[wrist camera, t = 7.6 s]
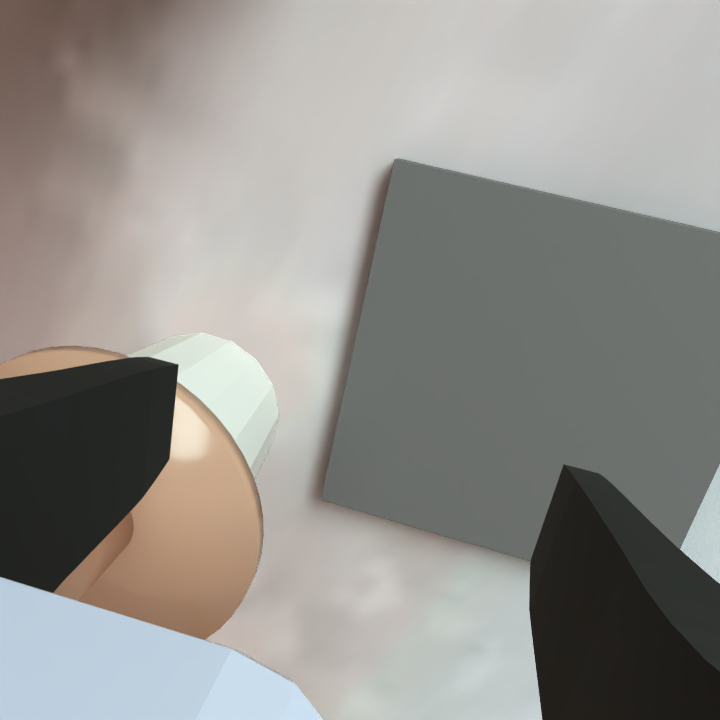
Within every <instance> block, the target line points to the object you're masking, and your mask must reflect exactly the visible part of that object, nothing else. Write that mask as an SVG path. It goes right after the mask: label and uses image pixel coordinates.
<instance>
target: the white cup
mask: <svg viewBox="0 0 720 720" xmlns="http://www.w3.org/2000/svg"><path fill="white" fill-rule="evenodd" d="M127 356H128V357H131V358H132V357H151V358H155V359H159V360H163V361H167V362H171V363H175V364H178V365H179V366H178V376H177V382H179V383H180V384H182V385H183V386H184V387H185V388H186V389H188V390H189V391H190V392H191V393H193V394H194V395H195V396H196V397H198V398H199V399H200V400H201V401H202V402H203V403H204V404H205V405H206V406H207V407H208V408H209V409H210V410H211V411H212V412H213V413H214V414H215V415H216V416H217V418H218V419H219V420H220V421H221V423H222V424H223V425H224V426H225V428H226V429H227V430H228V432H229V433H230V434H231V435H232V437H233V439H234V440H235V442H236V444H237V445H238V447H239V448H240V450H241V452H242V453H243V455H244V457H245V459H246V461H247V464H248V466H249V468H250V470H251V472H252V474H253V477H254V480H255V478H256V476H257V474H258V471H259V469H260V467H261V465H262V463H263V461H264V459H265V457H266V455H267V453H268V451H269V449H270V447H271V445H272V443H273V441H274V437H275V432H276V427H277V422H278V417H279V410H278V405H277V401H276V396H275V391H274V387H273V384H272V383H271V381H270V380H269V378H268V377H267V375H266V374H265V372H264V371H263V369H262V367H261V366H260V364H259V363H258V361H257V360H256V359H255V358H254V357H252V356H251V355H250V354H248V353H247V352H245V351H244V350H243V349H241V348H240V347H239V346H237V345H236V344H235V343H233V342H232V341H230V340H226V339H223V338H219V337H216V336H213V335H209V334H206V333H193V334H185V335H176V336H172V337H170V338H167V339H165V340H163V341H160V342H158V343H155V344H153V345H151V346H148V347H146V348H143V349H141V350H139V351H136V352H134V353H131V354H129V355H127Z"/></svg>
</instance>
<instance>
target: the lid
mask: <svg viewBox="0 0 720 720" xmlns="http://www.w3.org/2000/svg"><path fill="white" fill-rule="evenodd" d="M124 358H131V357H128V356H125V355H123V354H120V353H117V352H112V351H108V350H103V349H99V348H93V347H81V346H60V347H49V348H44V349H39V350H35V351H31V352H28V353H26V354H23V355H20V356H18V357H15V358H13V359H11V360H9V361H6V362H4V363H2V364H0V379H3V378H10V377H17V376H23V375H30V374H36V373H43V372H49V371H55V370H61V369H66V368H72V367H77V366H83V365H88V364H94V363H99V362H105V361H111V360H117V359H124ZM263 536H264V534H263V514H262V508H261V502H260V497H259V493H258V490H257V487H256V484H255V480H254V477H253V474H252V472H251V470H250V468H249V466H248V464H247V461H246V459H245V457H244V455H243V453H242V452H241V450H240V448H239V447H238V445H237V444H236V442H235V440H234V439H233V437H232V435H231V434H230V433H229V432H228V430H227V429H226V428H225V426H224V425H223V424H222V423H221V421H220V420H219V419H218V418H217V416H216V415H215V414H214V413H213V412H212V411H211V410H210V409H209V408H208V407H207V406H206V405H205V404H204V403H203V402H202V401H201V400H200V399H199V398H198V397H196V396H195V395H194V394H193V393H191V392H190V391H189V390H188V389H186V388H185V387H184V386H183V385H182V384H180V383H179V382H177V387H176V397H175V407H174V418H173V428H172V438H171V449H170V459H169V461H168V462H167V464H166V465H165V467H164V468H163V470H162V471H161V473H160V474H159V476H158V477H157V479H156V480H155V482H154V483H153V484H152V486H151V487H150V489H149V490H148V491H147V493H146V494H145V495H144V497H143V498H142V499H141V500H140V502H139V503H138V504H137V505H136V506H135V507H134V508H133V509H132V510H131V511H130V512H129V513H128V514H127V515H126V517H125V518H124V519H123V520H122V521H121V522H120V523H119V524H118V525H117V526H116V527H115V528H114V529H113V530H112V531H111V532H110V533H109V534H108V535H107V536H106V538H105V539H104V540H103V541H102V542H101V543H100V544H99V545H98V546H97V547H96V548H95V549H94V550H93V551H92V552H91V553H90V554H89V555H88V556H87V557H86V558H85V559H84V560H83V561H82V562H81V563H80V564H79V566H78V567H77V568H76V569H75V570H74V571H73V572H72V573H71V574H70V575H69V576H68V577H67V578H66V579H65V580H64V581H63V582H62V583H61V585H60V586H59V587H58V588H57V589H56V590H55V591H54V592H53V593H54V594H57V595H61V596H64V597H67V598H70V599H74V600H77V601H80V602H83V603H87V604H90V605H93V606H96V607H99V608H103V609H106V610H109V611H112V612H116V613H119V614H122V615H125V616H129V617H132V618H135V619H138V620H142V621H145V622H148V623H151V624H154V625H158V626H161V627H164V628H167V629H171V630H174V631H177V632H180V633H184V634H187V635H190V636H193V637H197V638H200V639H203V640H205V639H206V638H208V637H209V636H210V635H212V634H213V633H215V632H216V631H217V630H219V629H220V628H221V627H222V626H223V625H224V624H225V623H226V622H227V621H228V620H229V619H230V618H231V616H232V615H233V614H234V612H235V611H236V609H237V608H238V606H239V605H240V603H241V602H242V600H243V598H244V596H245V594H246V593H247V591H248V589H249V587H250V585H251V583H252V580H253V578H254V576H255V574H256V572H257V568H258V565H259V561H260V558H261V554H262V545H263Z"/></svg>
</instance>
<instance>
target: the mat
mask: <svg viewBox="0 0 720 720" xmlns="http://www.w3.org/2000/svg"><path fill="white" fill-rule="evenodd" d="M564 464H565V465H569V466H573V467H576V468H580V469H584V470H588V471H592V472H596V473H599V474H601V475H602V476H603V477H605V478H606V479H607V480H608V481H609V482H611V483H612V484H613V485H614V486H615V487H616V488H617V489H618V490H619V491H620V492H621V493H622V494H623V495H624V496H625V497H626V498H627V499H628V500H629V501H630V502H631V503H632V504H633V505H634V506H635V507H636V508H637V509H638V510H639V511H640V512H641V513H642V514H643V515H644V516H645V517H646V518H647V519H648V520H649V521H650V522H651V523H652V524H653V525H654V526H655V527H657V528H658V529H659V530H660V531H661V532H662V533H663V534H664V535H665V536H666V537H667V538H668V539H669V540H670V541H671V542H672V543H673V544H674V545H675V546H677V547H678V548H679V549H680V548H681V545H682V543H683V541H684V539H685V537H686V535H687V533H688V530H689V528H690V526H691V524H692V522H693V520H694V518H695V515H696V513H697V511H698V509H699V507H700V505H701V503H702V500H703V498H704V496H705V494H706V492H707V490H708V488H709V485H710V483H711V481H712V479H713V477H714V475H715V473H716V470H717V468H718V466H719V464H720V232H716V231H712V230H707V229H703V228H699V227H694V226H690V225H686V224H681V223H677V222H673V221H668V220H664V219H660V218H655V217H651V216H647V215H642V214H638V213H633V212H629V211H625V210H620V209H616V208H612V207H607V206H603V205H599V204H594V203H590V202H586V201H581V200H577V199H572V198H568V197H564V196H559V195H555V194H551V193H546V192H542V191H538V190H533V189H529V188H525V187H520V186H516V185H511V184H507V183H503V182H498V181H494V180H490V179H485V178H481V177H477V176H472V175H468V174H464V173H459V172H455V171H451V170H446V169H442V168H437V167H433V166H429V165H424V164H420V163H416V162H411V161H407V160H403V159H394V164H393V168H392V173H391V177H390V182H389V187H388V191H387V196H386V201H385V205H384V210H383V214H382V219H381V224H380V228H379V233H378V237H377V242H376V247H375V251H374V256H373V261H372V265H371V270H370V274H369V279H368V284H367V288H366V293H365V297H364V302H363V307H362V311H361V316H360V321H359V325H358V330H357V334H356V339H355V344H354V348H353V353H352V357H351V362H350V367H349V371H348V376H347V381H346V385H345V390H344V394H343V399H342V404H341V408H340V413H339V417H338V422H337V427H336V431H335V436H334V441H333V445H332V450H331V454H330V459H329V464H328V468H327V473H326V477H325V482H324V487H323V491H322V496H321V500H323V501H326V502H329V503H333V504H336V505H340V506H343V507H347V508H350V509H353V510H357V511H360V512H364V513H367V514H371V515H374V516H378V517H381V518H384V519H388V520H391V521H395V522H398V523H402V524H405V525H408V526H412V527H415V528H419V529H422V530H426V531H429V532H433V533H436V534H439V535H443V536H446V537H450V538H453V539H457V540H460V541H464V542H467V543H470V544H474V545H477V546H481V547H484V548H488V549H491V550H494V551H498V552H501V553H505V554H508V555H512V556H515V557H519V558H522V559H525V560H529V561H531V557H532V555H533V552H534V549H535V546H536V543H537V540H538V537H539V534H540V531H541V529H542V526H543V523H544V520H545V517H546V514H547V511H548V508H549V505H550V502H551V500H552V497H553V494H554V491H555V488H556V485H557V482H558V479H559V476H560V474H561V471H562V468H563V465H564Z"/></svg>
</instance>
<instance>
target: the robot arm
mask: <svg viewBox="0 0 720 720" xmlns="http://www.w3.org/2000/svg"><path fill="white" fill-rule="evenodd" d="M178 366H179V365H178V364H175V363H171V362H167V361H163V360H159V359H155V358H151V357H132V358H124V359H117V360H111V361H105V362H99V363H94V364H88V365H83V366H77V367H72V368H66V369H61V370H55V371H49V372H43V373H36V374H30V375H23V376H17V377H10V378H3V379H0V720H323V719H322V718H321V717H320V715H319V714H318V713H317V711H316V710H315V709H314V707H313V706H312V705H311V704H310V702H309V701H308V700H307V698H306V697H305V696H304V694H303V693H302V692H301V691H300V689H299V688H298V687H297V685H296V684H295V683H294V682H293V681H292V680H290V679H289V678H287V677H285V676H283V675H281V674H279V673H278V672H276V671H274V670H272V669H270V668H268V667H267V666H265V665H263V664H261V663H259V662H257V661H255V660H254V659H252V658H250V657H248V656H246V655H244V654H243V653H241V652H239V651H237V650H235V649H232V648H229V647H226V646H222V645H219V644H216V643H213V642H209V641H206V640H203V639H200V638H197V637H193V636H190V635H187V634H184V633H180V632H177V631H174V630H171V629H167V628H164V627H161V626H158V625H154V624H151V623H148V622H145V621H142V620H138V619H135V618H132V617H129V616H125V615H122V614H119V613H116V612H112V611H109V610H106V609H103V608H99V607H96V606H93V605H90V604H87V603H83V602H80V601H77V600H74V599H70V598H67V597H64V596H61V595H57V594H54V593H53V592H54V591H55V590H56V589H57V588H58V587H59V586H60V585H61V583H62V582H63V581H64V580H65V579H66V578H67V577H68V576H69V575H70V574H71V573H72V572H73V571H74V570H75V569H76V568H77V567H78V566H79V564H80V563H81V562H82V561H83V560H84V559H85V558H86V557H87V556H88V555H89V554H90V553H91V552H92V551H93V550H94V549H95V548H96V547H97V546H98V545H99V544H100V543H101V542H102V541H103V540H104V539H105V538H106V536H107V535H108V534H109V533H110V532H111V531H112V530H113V529H114V528H115V527H116V526H117V525H118V524H119V523H120V522H121V521H122V520H123V519H124V518H125V517H126V515H127V514H128V513H129V512H130V511H131V510H132V509H133V508H134V507H135V506H136V505H137V504H138V503H139V502H140V500H141V499H142V498H143V497H144V495H145V494H146V493H147V491H148V490H149V489H150V487H151V486H152V484H153V483H154V482H155V480H156V479H157V477H158V476H159V474H160V473H161V471H162V470H163V468H164V467H165V465H166V464H167V462H168V461H169V459H170V449H171V438H172V428H173V418H174V407H175V397H176V387H177V376H178ZM529 610H530V619H531V628H532V637H533V646H534V654H535V662H536V670H537V678H538V686H539V695H540V703H541V711H542V719H543V720H720V584H719V583H718V582H716V581H715V580H714V579H713V578H712V577H711V576H709V575H708V574H707V573H706V572H705V571H704V570H702V569H701V568H700V567H699V566H698V565H697V564H696V563H694V562H693V561H692V560H691V559H690V558H689V557H688V556H686V555H685V554H684V553H683V552H682V551H681V550H680V549H679V548H678V547H677V546H675V545H674V544H673V543H672V542H671V541H670V540H669V539H668V538H667V537H666V536H665V535H664V534H663V533H662V532H661V531H660V530H659V529H658V528H657V527H655V526H654V525H653V524H652V523H651V522H650V521H649V520H648V519H647V518H646V517H645V516H644V515H643V514H642V513H641V512H640V511H639V510H638V509H637V508H636V507H635V506H634V505H633V504H632V503H631V502H630V501H629V500H628V499H627V498H626V497H625V496H624V495H623V494H622V493H621V492H620V491H619V490H618V489H617V488H616V487H615V486H614V485H613V484H612V483H611V482H609V481H608V480H607V479H606V478H605V477H603V476H602V475H601V474H599V473H596V472H592V471H588V470H584V469H580V468H576V467H573V466H569V465H565V464H564V465H563V468H562V471H561V474H560V476H559V479H558V482H557V485H556V488H555V491H554V494H553V497H552V500H551V502H550V505H549V508H548V511H547V514H546V517H545V520H544V523H543V526H542V529H541V531H540V534H539V537H538V540H537V543H536V546H535V549H534V552H533V555H532V557H531V566H530V604H529Z"/></svg>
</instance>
